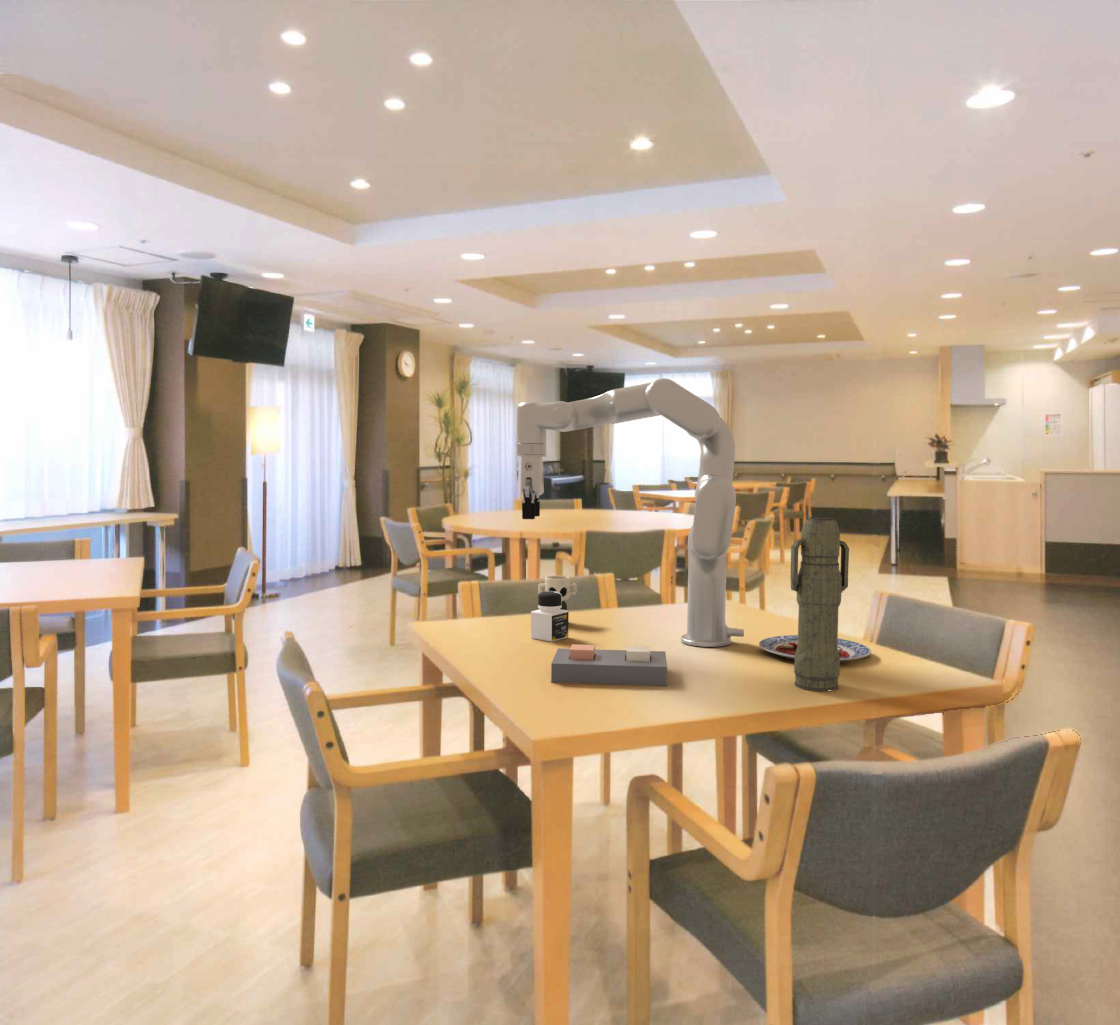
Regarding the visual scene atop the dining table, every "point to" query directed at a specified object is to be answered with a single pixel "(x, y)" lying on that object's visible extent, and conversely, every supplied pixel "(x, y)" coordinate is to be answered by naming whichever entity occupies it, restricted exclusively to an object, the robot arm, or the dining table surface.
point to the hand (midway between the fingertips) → (531, 517)
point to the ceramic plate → (790, 643)
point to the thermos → (818, 602)
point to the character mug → (559, 587)
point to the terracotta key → (582, 652)
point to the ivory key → (638, 653)
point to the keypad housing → (609, 669)
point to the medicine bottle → (549, 618)
